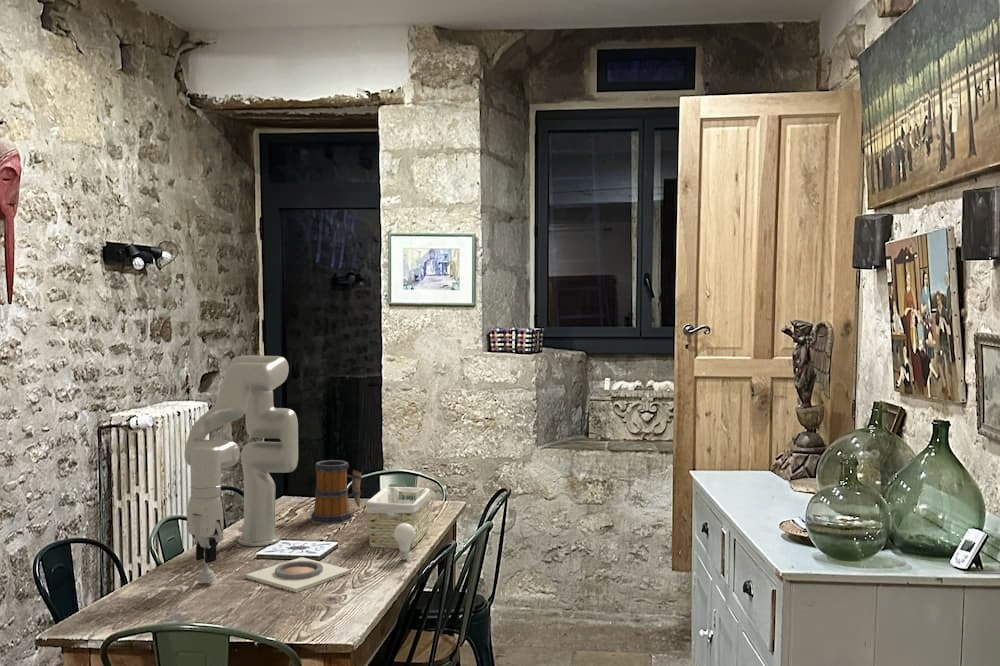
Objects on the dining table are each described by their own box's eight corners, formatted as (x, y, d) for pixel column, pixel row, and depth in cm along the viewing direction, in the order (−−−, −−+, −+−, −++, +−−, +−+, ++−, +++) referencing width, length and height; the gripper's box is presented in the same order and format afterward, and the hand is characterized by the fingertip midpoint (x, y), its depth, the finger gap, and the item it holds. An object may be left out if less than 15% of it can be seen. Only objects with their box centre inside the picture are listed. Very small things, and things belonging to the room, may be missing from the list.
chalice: (210, 585, 214) (210, 516, 214) (186, 582, 216) (186, 515, 215) (225, 575, 221) (225, 509, 221) (202, 573, 223) (202, 508, 222)
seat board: (245, 578, 224) (245, 570, 224) (301, 560, 240) (301, 553, 240) (296, 592, 213) (296, 584, 213) (351, 573, 229) (351, 565, 229)
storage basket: (414, 551, 252) (414, 503, 251) (363, 548, 254) (363, 501, 254) (431, 531, 275) (432, 487, 275) (384, 528, 278) (385, 485, 277)
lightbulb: (393, 557, 245) (394, 520, 244) (415, 557, 245) (415, 520, 245) (392, 563, 238) (393, 526, 238) (414, 563, 239) (415, 525, 239)
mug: (349, 510, 303) (350, 456, 302) (371, 517, 292) (372, 461, 292) (302, 518, 290) (303, 462, 289) (323, 526, 279) (324, 468, 279)
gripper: (174, 490, 219) (175, 558, 220) (213, 499, 210) (213, 570, 211) (199, 485, 225) (199, 551, 226) (237, 493, 216) (237, 562, 217)
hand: (206, 559), depth 218 cm, fingers closed on chalice, 3 cm apart
